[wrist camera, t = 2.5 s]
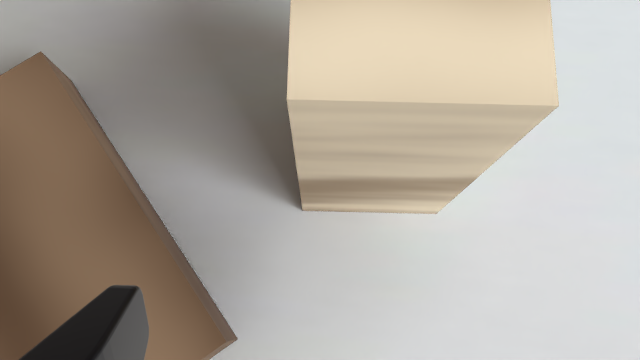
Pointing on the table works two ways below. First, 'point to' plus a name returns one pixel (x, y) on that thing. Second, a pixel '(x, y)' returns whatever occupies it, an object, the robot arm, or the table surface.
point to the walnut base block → (83, 227)
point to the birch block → (412, 96)
